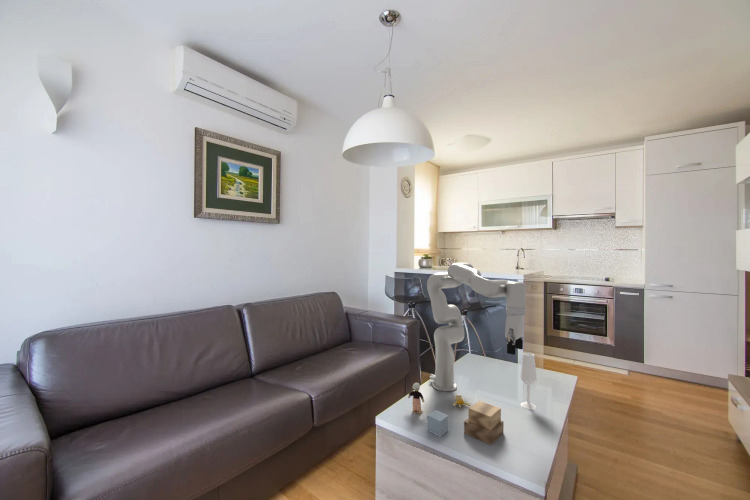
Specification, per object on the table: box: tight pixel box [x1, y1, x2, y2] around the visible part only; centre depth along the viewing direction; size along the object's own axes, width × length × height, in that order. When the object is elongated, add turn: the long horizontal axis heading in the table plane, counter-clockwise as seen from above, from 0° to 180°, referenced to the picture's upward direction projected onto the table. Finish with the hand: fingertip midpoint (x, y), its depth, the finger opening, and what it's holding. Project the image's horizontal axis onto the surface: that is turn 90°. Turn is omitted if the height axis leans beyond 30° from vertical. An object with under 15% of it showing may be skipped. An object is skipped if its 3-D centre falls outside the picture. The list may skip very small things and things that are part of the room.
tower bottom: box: [463, 417, 504, 446], centre depth 125 cm, size 11×11×5 cm
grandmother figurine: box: [407, 382, 425, 415], centre depth 142 cm, size 8×4×13 cm, turn 71°
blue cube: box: [426, 409, 450, 437], centre depth 127 cm, size 6×6×6 cm
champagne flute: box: [520, 352, 537, 410], centre depth 148 cm, size 7×7×24 cm
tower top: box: [468, 400, 502, 430], centre depth 126 cm, size 9×9×5 cm
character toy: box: [452, 394, 472, 408], centre depth 148 cm, size 8×3×8 cm
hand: (515, 351), depth 135 cm, fingers open, 9 cm apart
